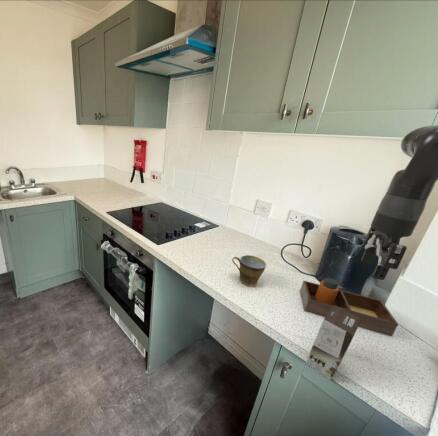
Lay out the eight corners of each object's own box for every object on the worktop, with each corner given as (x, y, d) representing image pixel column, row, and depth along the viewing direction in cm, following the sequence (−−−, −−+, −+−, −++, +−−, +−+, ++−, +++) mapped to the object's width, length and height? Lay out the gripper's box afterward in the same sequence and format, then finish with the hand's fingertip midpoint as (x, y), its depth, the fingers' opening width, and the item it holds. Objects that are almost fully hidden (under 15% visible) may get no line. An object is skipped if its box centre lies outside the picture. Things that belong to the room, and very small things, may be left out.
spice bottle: (328, 303, 91) (338, 279, 87) (332, 313, 87) (343, 287, 82) (311, 298, 93) (320, 274, 89) (314, 308, 89) (323, 282, 84)
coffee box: (331, 381, 64) (354, 335, 58) (304, 363, 68) (322, 318, 62) (341, 362, 69) (363, 318, 63) (315, 346, 74) (333, 304, 68)
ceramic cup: (262, 280, 104) (268, 260, 100) (258, 292, 96) (263, 271, 93) (232, 269, 111) (236, 250, 107) (225, 280, 103) (229, 259, 99)
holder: (299, 292, 98) (303, 280, 96) (375, 313, 89) (381, 300, 87) (303, 312, 87) (308, 299, 85) (390, 338, 78) (398, 324, 76)
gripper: (435, 226, 52) (402, 289, 58) (403, 208, 64) (378, 261, 70) (390, 219, 55) (363, 280, 61) (368, 203, 67) (346, 254, 73)
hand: (371, 270), depth 65 cm, fingers open, 8 cm apart
